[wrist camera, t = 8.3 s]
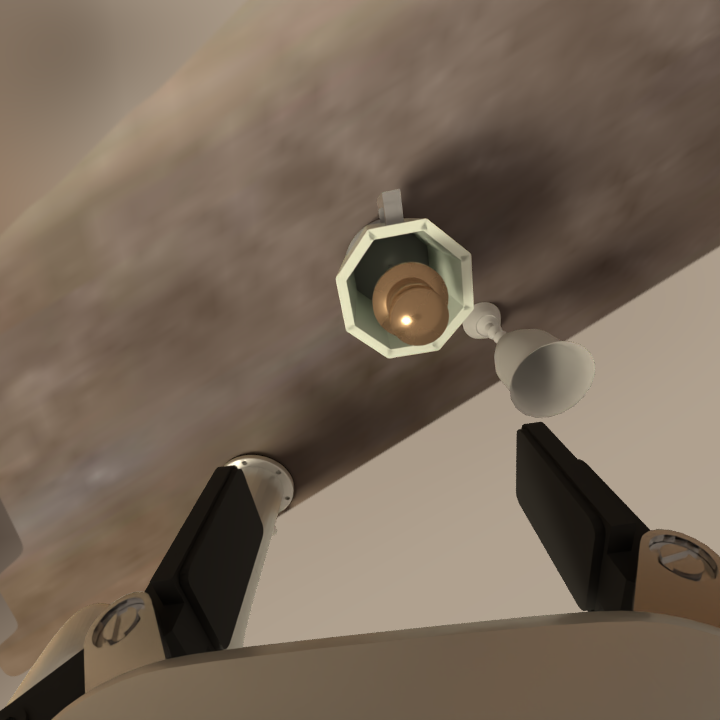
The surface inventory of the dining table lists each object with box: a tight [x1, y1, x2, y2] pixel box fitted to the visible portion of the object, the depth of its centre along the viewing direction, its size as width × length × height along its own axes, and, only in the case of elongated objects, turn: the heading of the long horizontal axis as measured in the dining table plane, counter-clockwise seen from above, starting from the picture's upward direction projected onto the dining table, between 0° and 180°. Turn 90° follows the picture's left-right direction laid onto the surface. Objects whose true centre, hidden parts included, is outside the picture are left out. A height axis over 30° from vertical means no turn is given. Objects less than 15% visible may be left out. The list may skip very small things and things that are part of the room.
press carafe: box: [336, 189, 474, 358], centre depth 34 cm, size 14×12×16 cm
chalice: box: [463, 302, 595, 418], centre depth 36 cm, size 7×7×18 cm
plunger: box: [372, 262, 449, 346], centre depth 31 cm, size 6×6×21 cm
